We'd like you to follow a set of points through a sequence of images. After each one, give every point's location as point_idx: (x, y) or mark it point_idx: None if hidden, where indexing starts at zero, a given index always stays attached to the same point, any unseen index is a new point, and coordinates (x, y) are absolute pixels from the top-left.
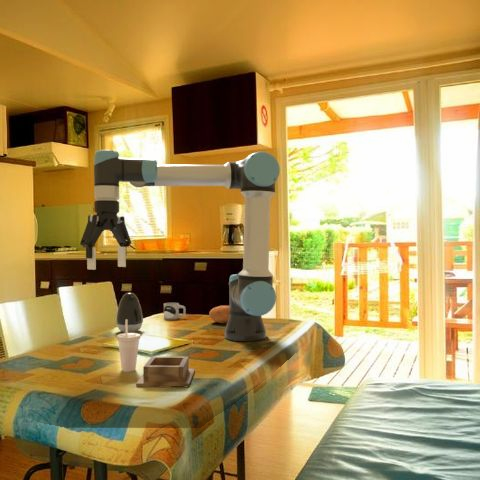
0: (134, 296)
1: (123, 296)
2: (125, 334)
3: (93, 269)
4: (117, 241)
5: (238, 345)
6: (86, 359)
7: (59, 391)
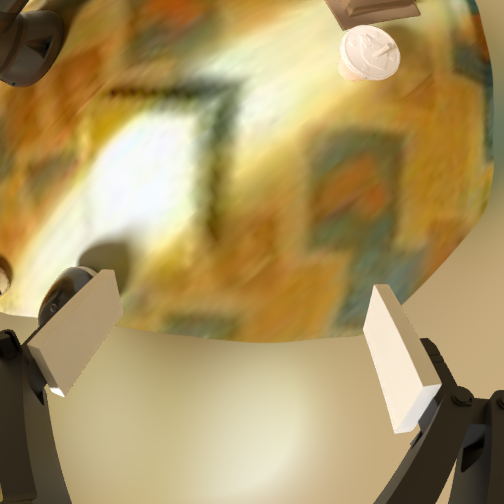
0: (44, 313)
1: None
2: (376, 58)
3: (387, 288)
4: (50, 425)
5: (89, 9)
6: (321, 203)
7: (478, 120)
